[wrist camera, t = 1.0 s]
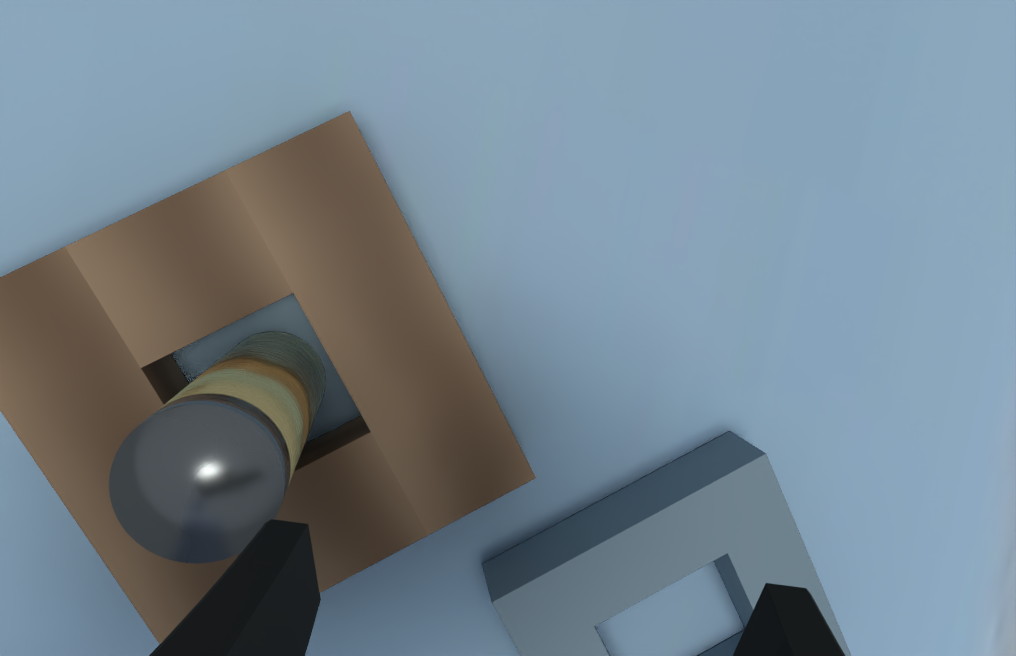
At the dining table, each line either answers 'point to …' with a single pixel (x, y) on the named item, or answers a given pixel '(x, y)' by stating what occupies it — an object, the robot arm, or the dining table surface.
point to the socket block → (227, 298)
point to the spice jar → (219, 452)
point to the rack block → (655, 551)
